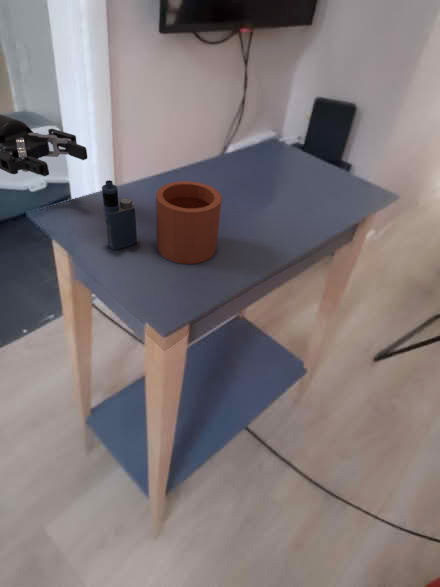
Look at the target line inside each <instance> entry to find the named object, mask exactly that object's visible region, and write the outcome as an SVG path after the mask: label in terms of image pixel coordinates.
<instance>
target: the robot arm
mask: <svg viewBox="0 0 440 587" xmlns="http://www.w3.org/2000/svg"><path fill="white" fill-rule="evenodd" d="M47 131H48V134H43V133H39V132H34V131H33V130H32V129H31V128H30V127H29V126H28V125H27V124H26V123H25V122H24V121H22V120H19V119H16V118H12V117H10V116H7V115H4V114H1V113H0V170H2V171H4V172H6V173H8V174H10V175H17V174H19V171H22V172H24V173H27V172H30V173H33V174H36V175H38V176H39V175H40V176H43V177H47V176H49V175H50V171H49V166H48V165H49V164H48V163H47V161H44V160H42V158H44V157H51V158H52V157H54V158H58V157H59V156H60V155H68V156H71V157H73V158H76V159H79V160H82V161H85V160H87V159H88V151H87V147H86V146H84V145H81V144H79V143H77V136H76V135H75V134H72V133H68V132H66V131H62V130H58V129H55V128H48V129H47ZM49 143H50V144H51V145H52V149H53V150H50V144H49Z"/></svg>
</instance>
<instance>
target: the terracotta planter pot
mask: <svg viewBox="0 0 440 587" xmlns="http://www.w3.org/2000/svg"><path fill="white" fill-rule="evenodd" d="M221 206H222V196H221V194H220V192H219V191H218V190H217V189H215V188H214V187H212V186H210V185H208V184H204V183H203V182H197V181H192V180H191V181H189V180H187V181H186V180H182V181H181V180H179V181H173V182H172V181H171V182H169V183H166V184H164V185H162V186H160V187H159V188H158V189H157V190H156V192H155V216H156V217H155V224H156V226H155V228H156V233H155V234H156V249H157V252H158V253H159V254H160V255H161V256H162V258H165V259H166V260H168V261H171V262H173V263H176V264H181V265H182V264H183V265H194V264H195V265H196V264H199V263H203V262H206V261H208V260H209V259H211V258H212V257H213V256H214V255H215V253H216V250H217V245H218V236H219V235H218V234H219V226H220V215H221Z"/></svg>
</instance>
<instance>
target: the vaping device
mask: <svg viewBox="0 0 440 587" xmlns="http://www.w3.org/2000/svg"><path fill="white" fill-rule="evenodd" d="M101 194H102V202H103V214H104V217H103V218H104V221H105V223H106V232H107V243H108V246H109V248H110V249H112V250H113V251H117V250H120V249H123V248H126V247H131V246H133V245H135V244H136V241H137V238H138V237H137V218H136V208H135V205H133V199H131V198H129V197H122V198H120V199H119V192H118V186H117V184H114V183H113V181H112V180H110V179H109V180H105V184H104V185H102V186H101Z"/></svg>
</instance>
